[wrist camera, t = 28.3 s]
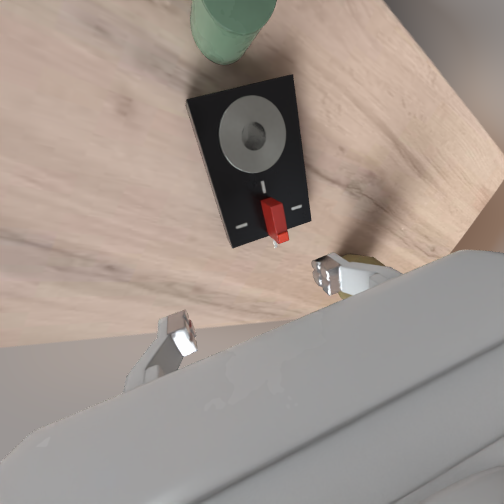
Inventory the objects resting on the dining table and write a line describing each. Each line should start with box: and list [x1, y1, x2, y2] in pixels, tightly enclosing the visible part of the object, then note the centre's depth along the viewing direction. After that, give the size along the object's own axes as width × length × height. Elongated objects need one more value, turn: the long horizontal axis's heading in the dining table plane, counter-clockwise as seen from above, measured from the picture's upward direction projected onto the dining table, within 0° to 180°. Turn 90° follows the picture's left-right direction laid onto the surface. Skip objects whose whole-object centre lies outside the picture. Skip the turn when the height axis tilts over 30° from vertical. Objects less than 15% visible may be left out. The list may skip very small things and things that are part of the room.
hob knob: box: [261, 197, 289, 244], centre depth 27 cm, size 4×1×4 cm, turn 13°
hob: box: [186, 74, 311, 248], centre depth 28 cm, size 18×11×3 cm, turn 13°
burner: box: [218, 95, 286, 173], centre depth 24 cm, size 7×7×1 cm
